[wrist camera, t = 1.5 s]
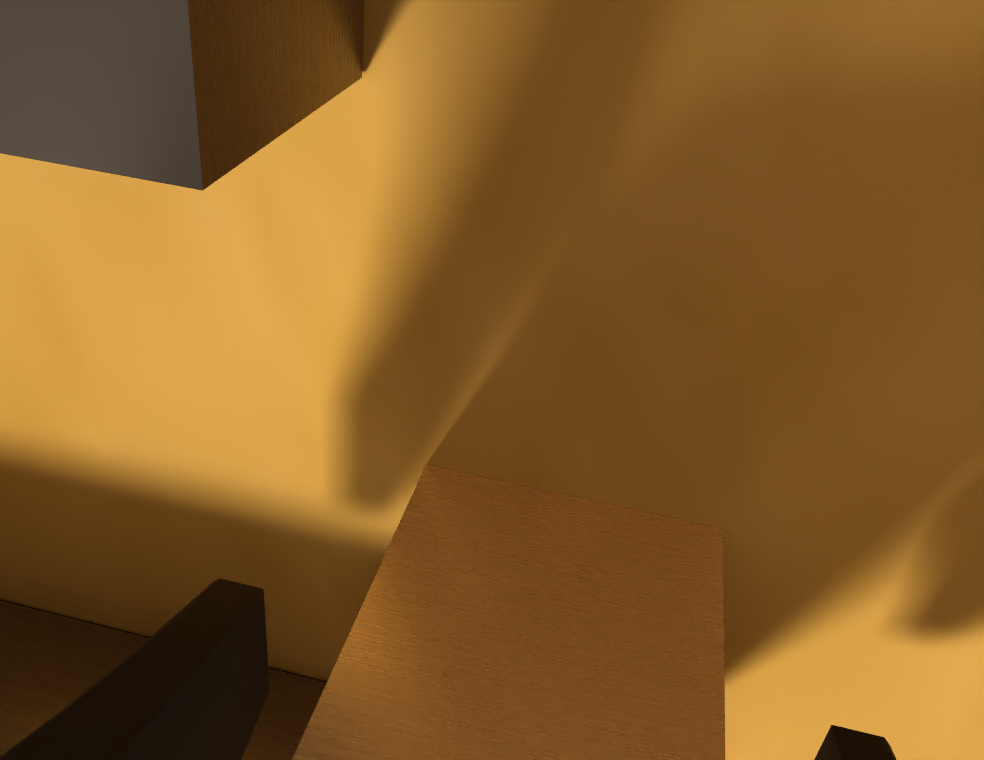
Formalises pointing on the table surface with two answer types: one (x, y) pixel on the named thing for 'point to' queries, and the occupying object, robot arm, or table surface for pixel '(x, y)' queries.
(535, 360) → the table surface
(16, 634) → the rail
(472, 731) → the block
